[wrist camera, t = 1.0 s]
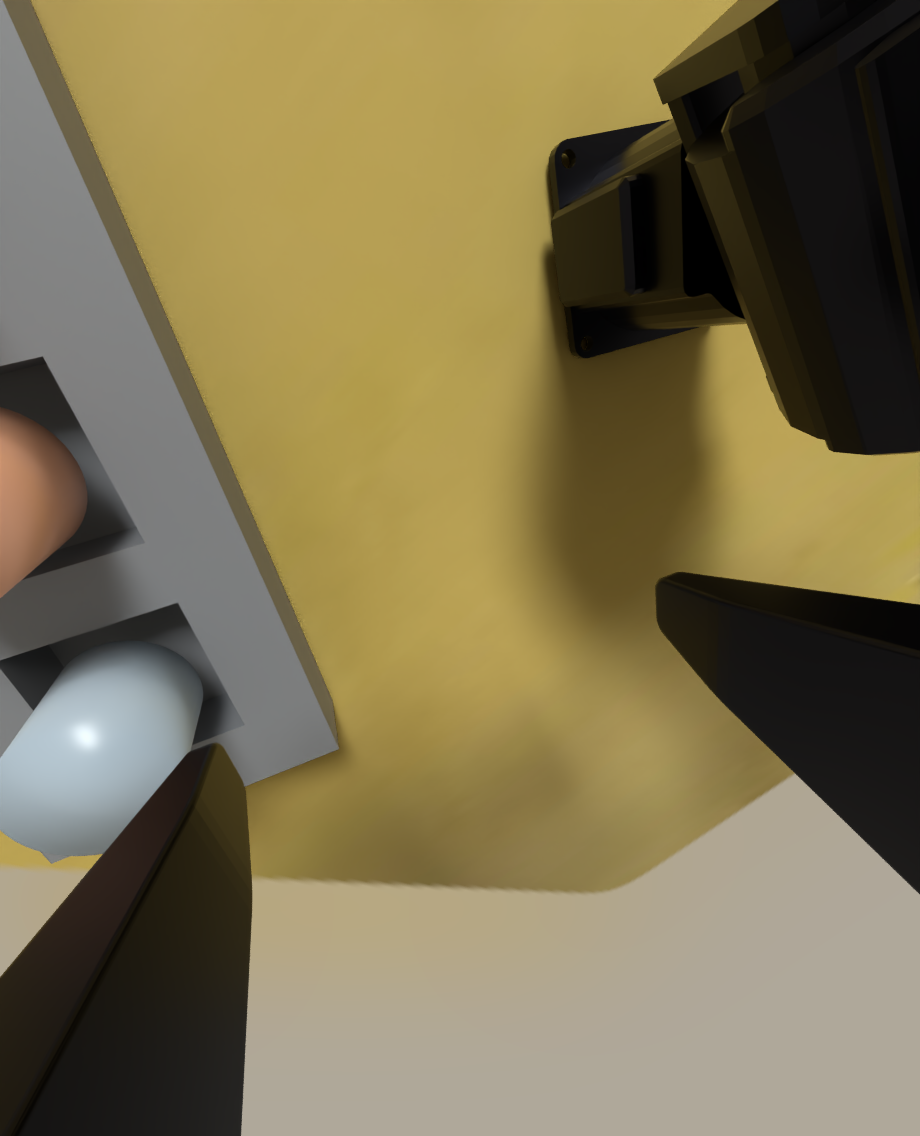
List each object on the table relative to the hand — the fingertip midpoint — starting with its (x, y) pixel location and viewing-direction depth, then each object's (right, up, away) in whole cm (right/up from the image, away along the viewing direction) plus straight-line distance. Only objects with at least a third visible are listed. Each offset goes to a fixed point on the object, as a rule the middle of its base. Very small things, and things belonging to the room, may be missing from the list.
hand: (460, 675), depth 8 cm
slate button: (-10, -2, +8) cm, 13 cm away
